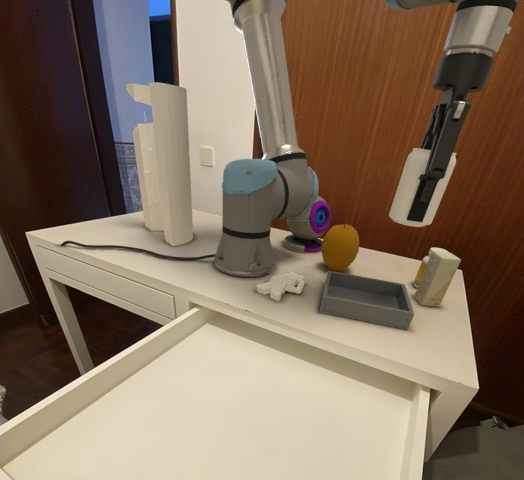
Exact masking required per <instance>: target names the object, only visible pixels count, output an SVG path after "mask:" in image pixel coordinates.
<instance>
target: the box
mask: <svg viewBox="0 0 524 480" xmlns="http://www.w3.org/2000/svg"><path fill="white" fill-rule="evenodd" d="M461 262H462V259H461V258H459V257H458V256H457V255H455V254H453V253H451V252H449V251H448V252H440V251H432V253H431V255H430V258H429V260H428V263H427V265H426V268H425V270H424V273H423V275H422V277H421V280H420V282H419V285H418V287H417V288H416V289H415V292H414V295H413V297H414V298H415V300H417V302H418V303H419V304H420V305H421V306H426V307H427V306H428V307H437V308H439V307H440V306H441V304H442V302H443V300H444V297H445V296H446V293H447V291H448V289H449V287H450V285H451V283H452V280H453V279H454V276H455V274H456V273H457V270H458V268H459V265H460V264H461Z"/></svg>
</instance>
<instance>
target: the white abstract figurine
mask: <svg viewBox="0 0 524 480" xmlns="http://www.w3.org/2000/svg"><path fill="white" fill-rule="evenodd" d="M305 285H306V281H305V276H304V275H302V274H298V273H297V272H294V271H289V272H287V273H282V274H278V275H273V276H271V277H270V278H269V279H268V281H267V282H264V283H259V284H257V285H256V292H257V293H259V294H261V295H264V296H265V295H269V298H270V299H272V300H273V301H276V302H279V301H280V300H281V298H282V295H285V293H286V292H287V293H288V292H289V293H293V294H296V295H300V294H301V293H302V292H303V289H304V287H305Z"/></svg>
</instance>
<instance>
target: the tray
mask: <svg viewBox="0 0 524 480" xmlns="http://www.w3.org/2000/svg"><path fill="white" fill-rule="evenodd" d="M318 313H323V314H327V315H333V316H337V317H342V318H348V319H352V320H357V321H363V322H367V323H373V324H377V325H383V326H388V327H392V328H397V329H401V330H409V328H410V325H411V323H412V321H413V318H414V317H415V311H414V308H413V305H412V302H411V300H410V296H409V293H408V290H407V287H406V285H405V283H400V282H396V281H395V282H394V281H388V280H383V279H378V278H372V277H366V276H361V275H356V274H350V273H344V272H340V271H333V270H332V271H331V270H327V273H326V278H325V281H324V287H323V291H322V296H321V301H320V305H319V311H318Z"/></svg>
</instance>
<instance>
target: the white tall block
mask: <svg viewBox="0 0 524 480" xmlns="http://www.w3.org/2000/svg"><path fill="white" fill-rule="evenodd" d="M125 88H126V91H127V93H128V94H129V95H130V97H131V98H132V99H133V100H134V102H136V103H141V104H144V105H147V106H150V107H151V115H152V122H148V123H147V116H146V111H145V110H144V112H143V115H144V122H145V123H137V124H136V125H135V127H134V129H133V130H132V140H133V147H134V154H135V162H136V169H137V176H138V177H137V178H138V184H139V191H140V199H141V207H142V214H143V221H144V226H145V228H146V229H147V230H150V231H153V232H154V231H162V232H163V234H164V241H165V242H166V243H168V244H169V245H170V246H172V247H176V246H181V245H184V244H187V243H189V242H191V241H192V240H193V239H194V227H193V226H194V225H193V204H192V203H193V201H192V179H191V159H190V158H191V156H190V136H189V135H190V134H189V114H188V113H189V112H188V92H187V91H188V90H187V88H185V87H183V86H180V85H179V86H178V85H174V84H169V83H164V82H160V81H159V82H149V83H148V85H146V84H140V83H139V84H138V83H126V84H125Z"/></svg>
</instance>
